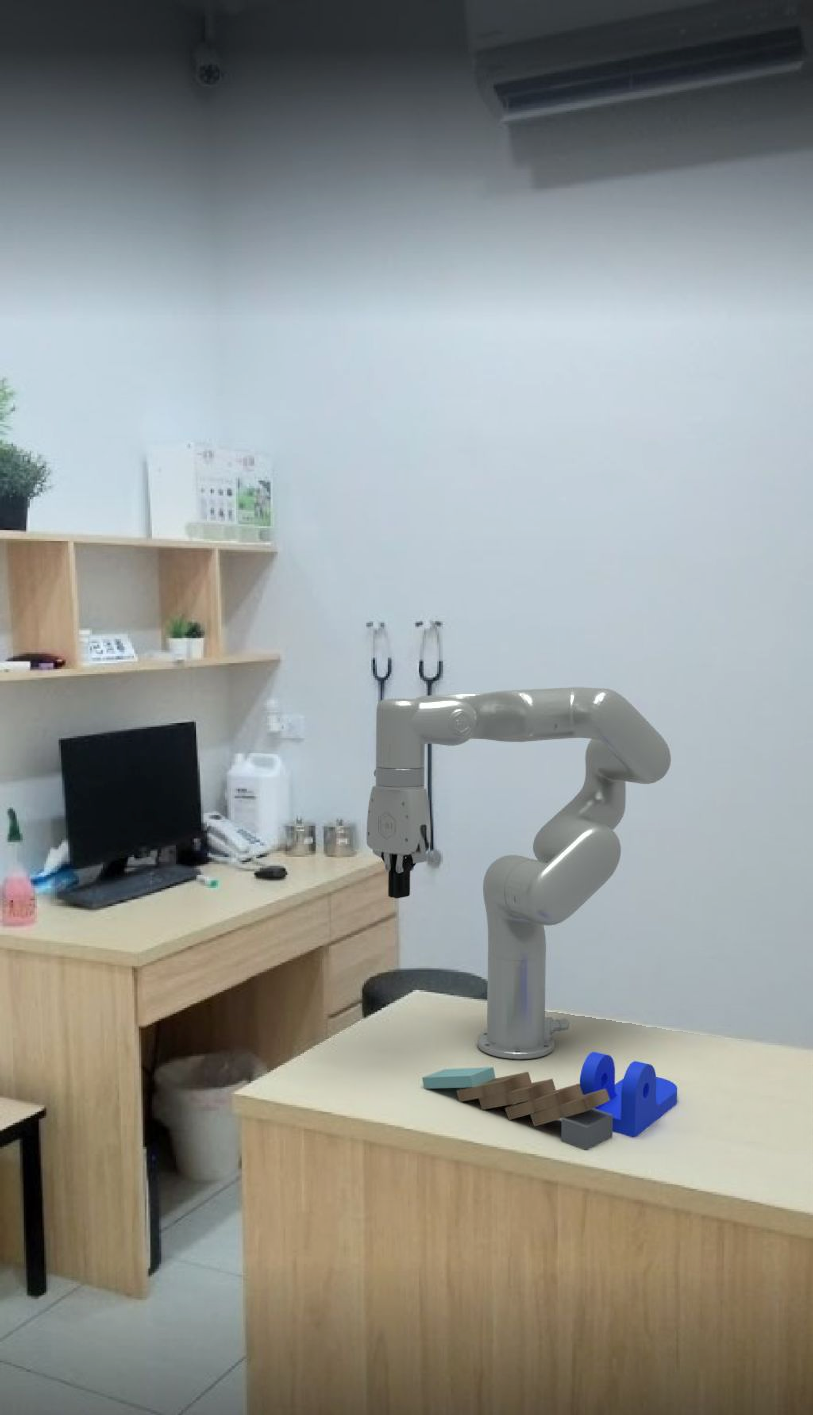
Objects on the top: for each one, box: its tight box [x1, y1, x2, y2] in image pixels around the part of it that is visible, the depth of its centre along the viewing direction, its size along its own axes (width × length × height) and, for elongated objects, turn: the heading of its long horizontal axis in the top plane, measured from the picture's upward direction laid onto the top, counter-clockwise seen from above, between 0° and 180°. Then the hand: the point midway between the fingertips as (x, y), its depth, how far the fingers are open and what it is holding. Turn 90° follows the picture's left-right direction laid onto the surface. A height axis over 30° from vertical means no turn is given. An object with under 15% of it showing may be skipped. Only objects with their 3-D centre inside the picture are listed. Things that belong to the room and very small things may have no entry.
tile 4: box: [504, 1083, 583, 1121], centre depth 157 cm, size 5×2×10 cm
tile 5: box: [529, 1088, 610, 1127], centre depth 154 cm, size 5×2×10 cm
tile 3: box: [478, 1078, 557, 1110], centre depth 161 cm, size 5×2×10 cm
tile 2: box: [456, 1071, 533, 1103], centre depth 164 cm, size 5×2×10 cm
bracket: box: [579, 1051, 678, 1138], centre depth 163 cm, size 18×8×9 cm, turn 145°
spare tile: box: [421, 1066, 496, 1090], centre depth 168 cm, size 5×2×10 cm
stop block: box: [560, 1108, 613, 1151], centre depth 152 cm, size 6×4×3 cm, turn 136°
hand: (399, 896), depth 177 cm, fingers closed
